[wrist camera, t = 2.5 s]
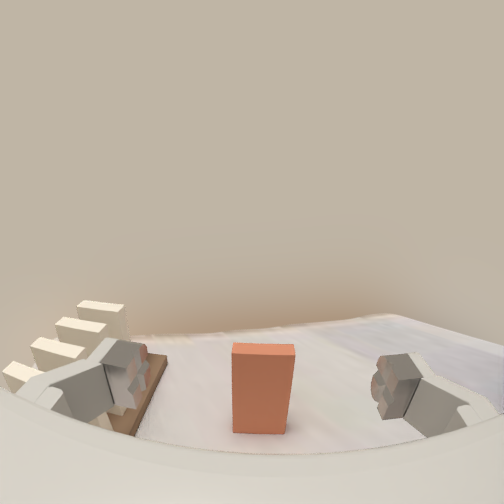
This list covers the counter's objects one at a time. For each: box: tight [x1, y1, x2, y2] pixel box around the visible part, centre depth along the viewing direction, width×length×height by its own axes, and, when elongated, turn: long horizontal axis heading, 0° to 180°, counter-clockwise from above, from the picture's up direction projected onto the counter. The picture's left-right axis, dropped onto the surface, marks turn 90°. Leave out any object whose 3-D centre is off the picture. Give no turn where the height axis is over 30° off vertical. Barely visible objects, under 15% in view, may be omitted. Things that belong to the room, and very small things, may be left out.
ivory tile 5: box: [76, 300, 131, 342], centre depth 28 cm, size 2×5×10 cm, turn 88°
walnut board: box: [106, 353, 168, 436], centre depth 23 cm, size 8×26×1 cm, turn 178°
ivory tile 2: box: [2, 361, 45, 394], centre depth 16 cm, size 2×5×10 cm, turn 88°
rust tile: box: [232, 343, 295, 434], centre depth 24 cm, size 2×5×10 cm, turn 88°
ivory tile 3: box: [30, 337, 114, 431], centre depth 20 cm, size 2×5×10 cm, turn 88°
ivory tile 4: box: [55, 317, 127, 416], centre depth 24 cm, size 2×5×10 cm, turn 88°
